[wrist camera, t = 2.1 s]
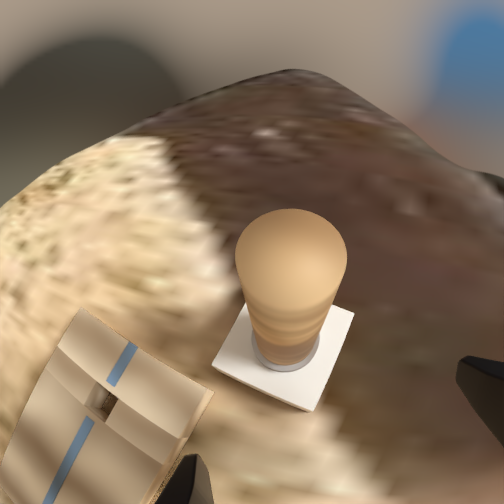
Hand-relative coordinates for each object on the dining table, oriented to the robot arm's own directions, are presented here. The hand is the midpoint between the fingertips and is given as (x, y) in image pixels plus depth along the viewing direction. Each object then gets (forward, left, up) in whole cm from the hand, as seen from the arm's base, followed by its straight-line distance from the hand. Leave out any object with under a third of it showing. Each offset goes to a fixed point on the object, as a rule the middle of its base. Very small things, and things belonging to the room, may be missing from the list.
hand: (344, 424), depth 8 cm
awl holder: (+4, +4, -12) cm, 13 cm away
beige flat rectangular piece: (-11, +13, -12) cm, 21 cm away
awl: (+4, +4, -12) cm, 13 cm away
